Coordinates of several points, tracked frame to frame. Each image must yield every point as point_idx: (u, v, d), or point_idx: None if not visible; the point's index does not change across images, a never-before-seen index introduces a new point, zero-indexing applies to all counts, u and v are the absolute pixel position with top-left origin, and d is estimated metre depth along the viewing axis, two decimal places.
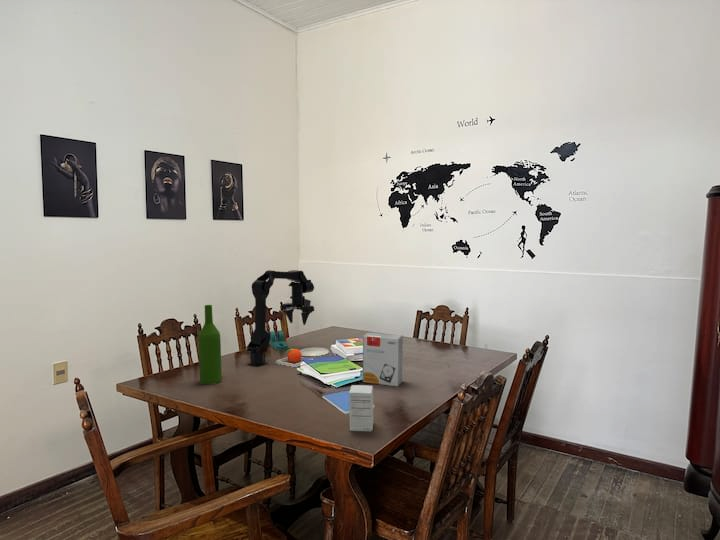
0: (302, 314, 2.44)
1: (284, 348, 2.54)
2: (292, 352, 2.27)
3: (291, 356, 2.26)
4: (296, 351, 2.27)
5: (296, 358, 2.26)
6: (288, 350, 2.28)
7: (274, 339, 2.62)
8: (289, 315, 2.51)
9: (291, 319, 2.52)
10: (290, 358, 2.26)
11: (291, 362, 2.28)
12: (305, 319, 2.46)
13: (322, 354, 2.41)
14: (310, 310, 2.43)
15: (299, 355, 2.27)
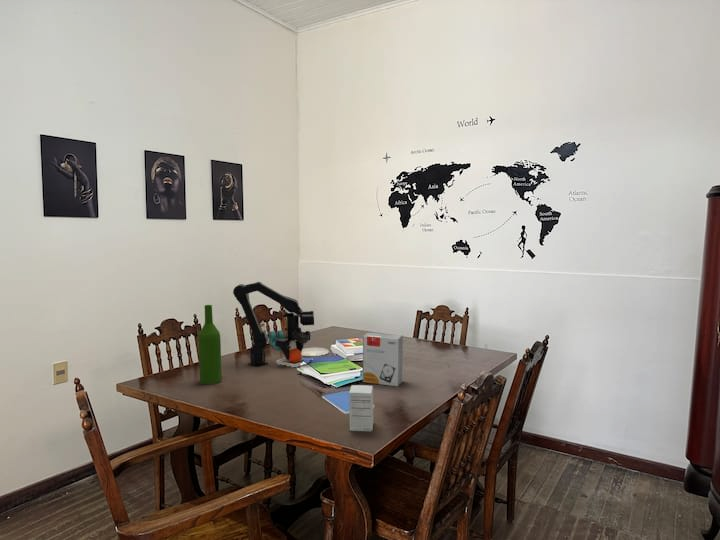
0: None
1: None
2: (292, 352, 2.27)
3: (291, 356, 2.26)
4: (296, 351, 2.27)
5: (296, 358, 2.26)
6: None
7: (274, 339, 2.63)
8: (297, 347, 2.33)
9: None
10: (290, 358, 2.26)
11: (291, 362, 2.28)
12: (285, 353, 2.25)
13: (322, 354, 2.41)
14: (278, 345, 2.21)
15: (299, 354, 2.27)
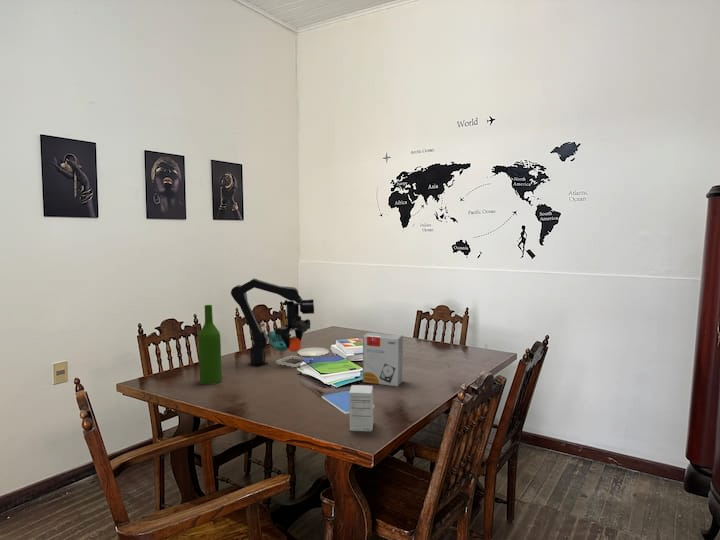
0: None
1: (284, 348, 2.54)
2: (291, 340, 2.26)
3: (290, 344, 2.25)
4: (295, 340, 2.26)
5: (295, 346, 2.25)
6: None
7: (274, 339, 2.63)
8: (296, 335, 2.32)
9: None
10: (289, 346, 2.25)
11: None
12: (285, 341, 2.25)
13: (322, 354, 2.41)
14: (278, 333, 2.21)
15: (298, 343, 2.26)
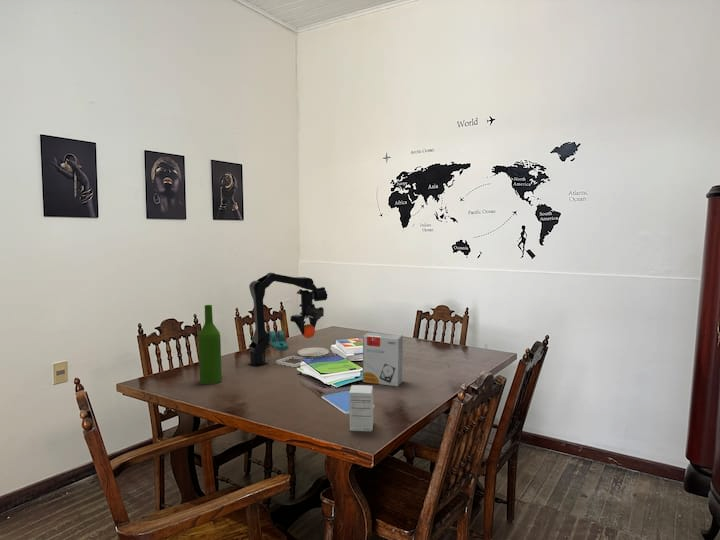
0: None
1: (284, 348, 2.54)
2: (306, 327, 2.38)
3: (305, 331, 2.37)
4: (310, 326, 2.38)
5: (310, 333, 2.37)
6: None
7: (274, 339, 2.63)
8: (311, 323, 2.44)
9: None
10: (304, 333, 2.37)
11: (305, 337, 2.39)
12: (300, 328, 2.37)
13: (322, 354, 2.41)
14: (293, 320, 2.33)
15: (313, 330, 2.38)
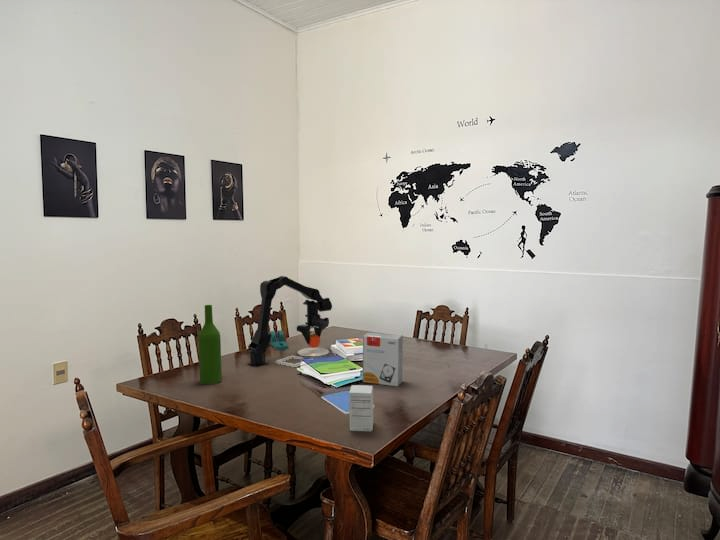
0: None
1: (284, 348, 2.54)
2: (311, 337, 2.44)
3: (310, 341, 2.43)
4: (315, 336, 2.44)
5: (315, 343, 2.43)
6: None
7: (274, 339, 2.63)
8: (316, 333, 2.50)
9: None
10: (309, 343, 2.43)
11: (310, 346, 2.45)
12: (306, 338, 2.43)
13: (322, 354, 2.41)
14: (299, 330, 2.38)
15: (318, 339, 2.44)
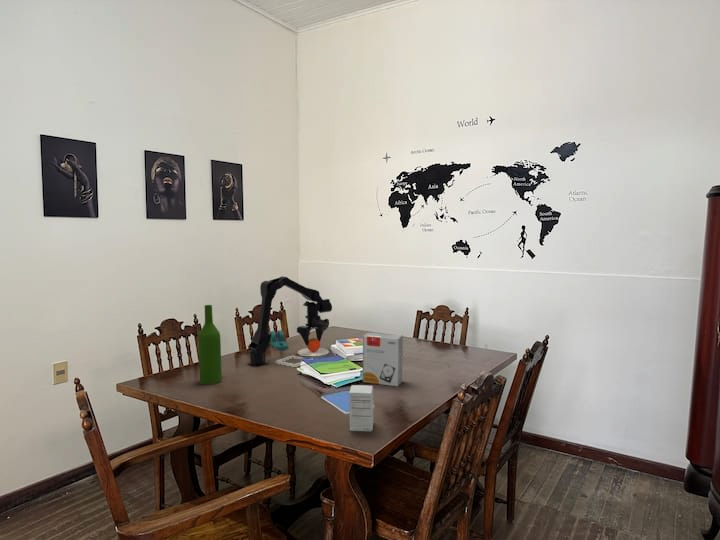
0: None
1: (284, 348, 2.54)
2: (311, 341, 2.44)
3: (311, 345, 2.43)
4: (315, 340, 2.44)
5: (315, 347, 2.43)
6: None
7: (274, 339, 2.63)
8: (317, 333, 2.51)
9: (318, 338, 2.50)
10: (310, 347, 2.43)
11: (310, 350, 2.45)
12: (305, 340, 2.42)
13: (322, 354, 2.41)
14: (300, 331, 2.39)
15: (318, 343, 2.44)
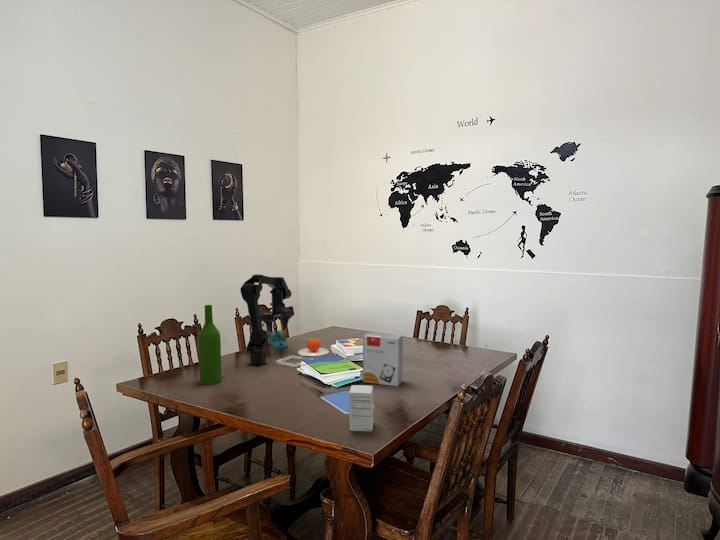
0: None
1: (284, 348, 2.54)
2: (311, 341, 2.44)
3: (311, 345, 2.43)
4: (315, 340, 2.44)
5: (315, 347, 2.43)
6: (308, 339, 2.45)
7: (274, 339, 2.63)
8: (283, 321, 2.50)
9: (284, 326, 2.49)
10: (310, 347, 2.43)
11: None
12: (269, 327, 2.42)
13: (322, 354, 2.41)
14: (263, 318, 2.38)
15: (318, 343, 2.44)
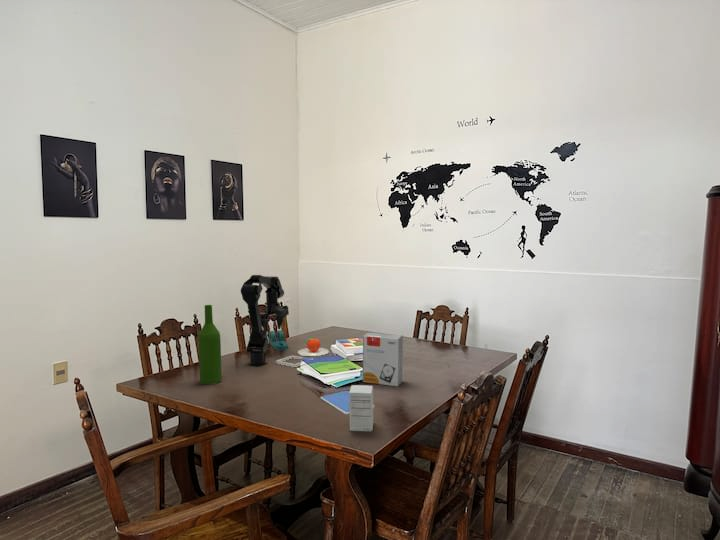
0: None
1: (284, 348, 2.54)
2: (311, 341, 2.44)
3: (311, 345, 2.43)
4: (315, 340, 2.44)
5: (315, 347, 2.43)
6: (308, 339, 2.45)
7: (274, 339, 2.63)
8: (277, 320, 2.50)
9: (278, 325, 2.50)
10: (310, 347, 2.43)
11: None
12: (264, 326, 2.41)
13: (322, 354, 2.41)
14: None
15: (318, 343, 2.44)
